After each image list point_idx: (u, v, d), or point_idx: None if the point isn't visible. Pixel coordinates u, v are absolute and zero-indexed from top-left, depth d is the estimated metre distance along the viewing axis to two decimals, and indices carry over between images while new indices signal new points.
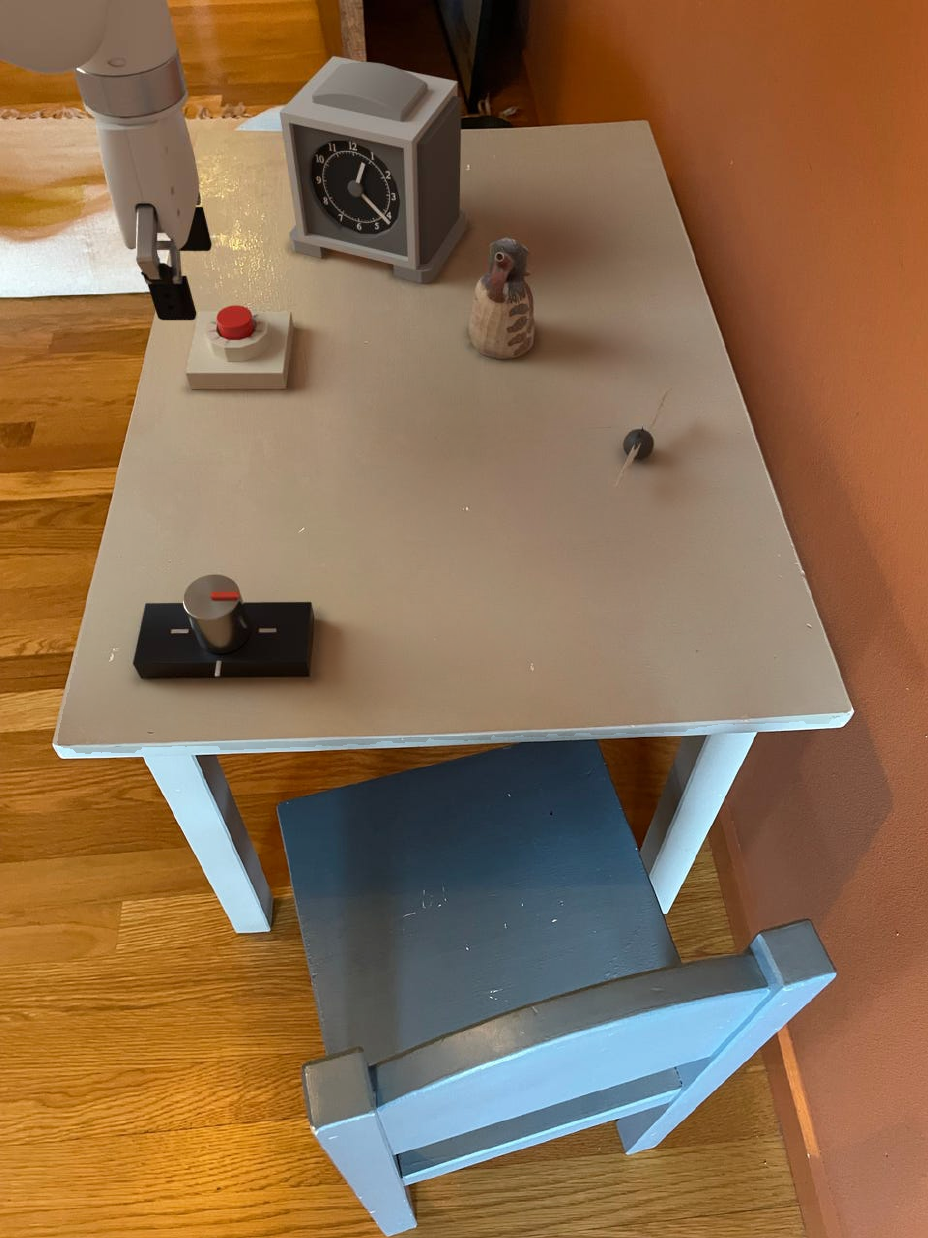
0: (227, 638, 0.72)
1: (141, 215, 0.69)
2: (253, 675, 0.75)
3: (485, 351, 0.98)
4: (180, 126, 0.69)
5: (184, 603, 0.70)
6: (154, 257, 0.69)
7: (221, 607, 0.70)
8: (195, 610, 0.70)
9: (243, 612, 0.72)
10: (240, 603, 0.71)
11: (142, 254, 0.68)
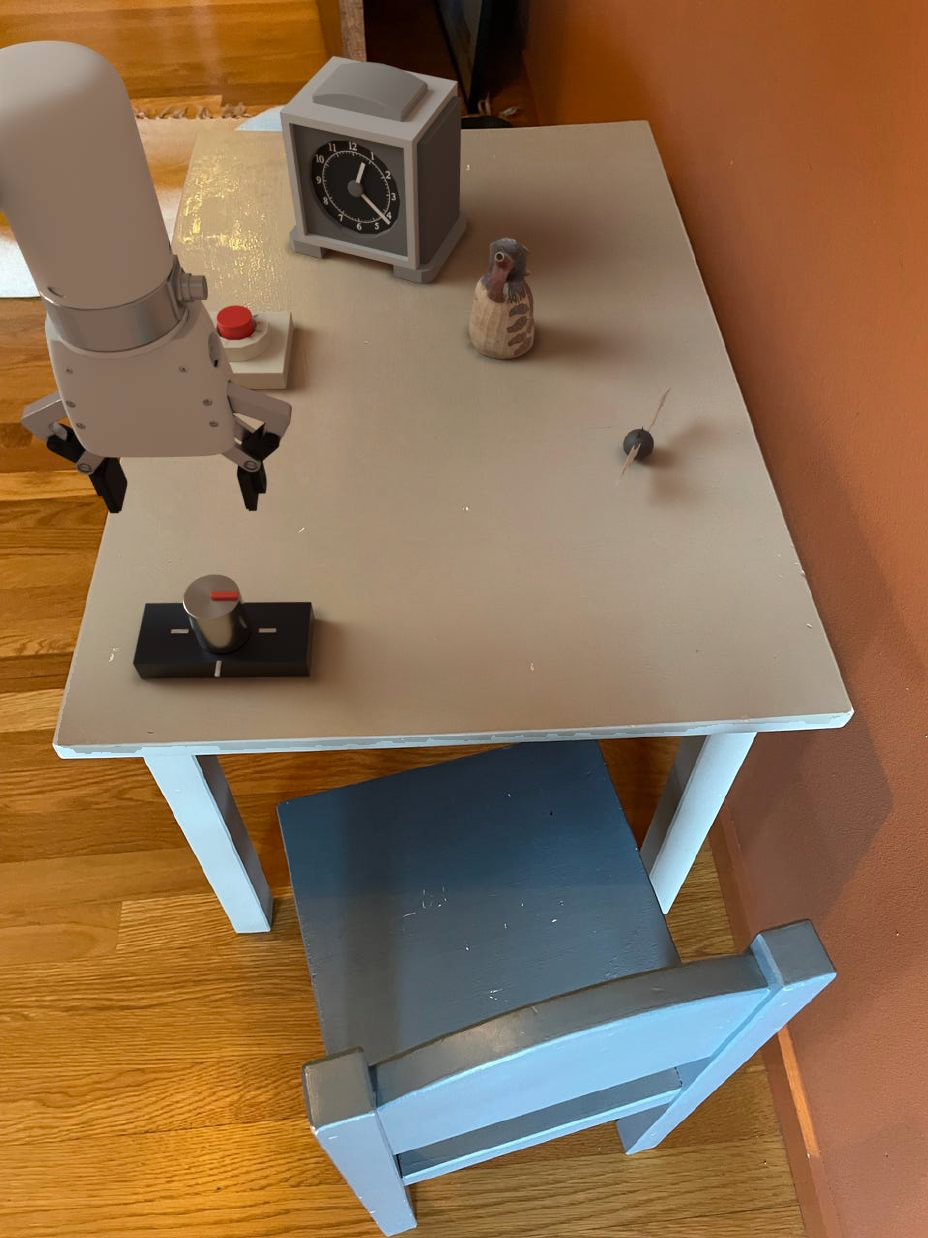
0: (227, 638, 0.72)
1: None
2: (253, 675, 0.75)
3: (485, 351, 0.98)
4: (142, 379, 0.53)
5: (184, 603, 0.70)
6: (32, 424, 0.58)
7: (221, 607, 0.70)
8: (195, 610, 0.70)
9: (243, 612, 0.72)
10: (240, 603, 0.71)
11: (24, 410, 0.58)
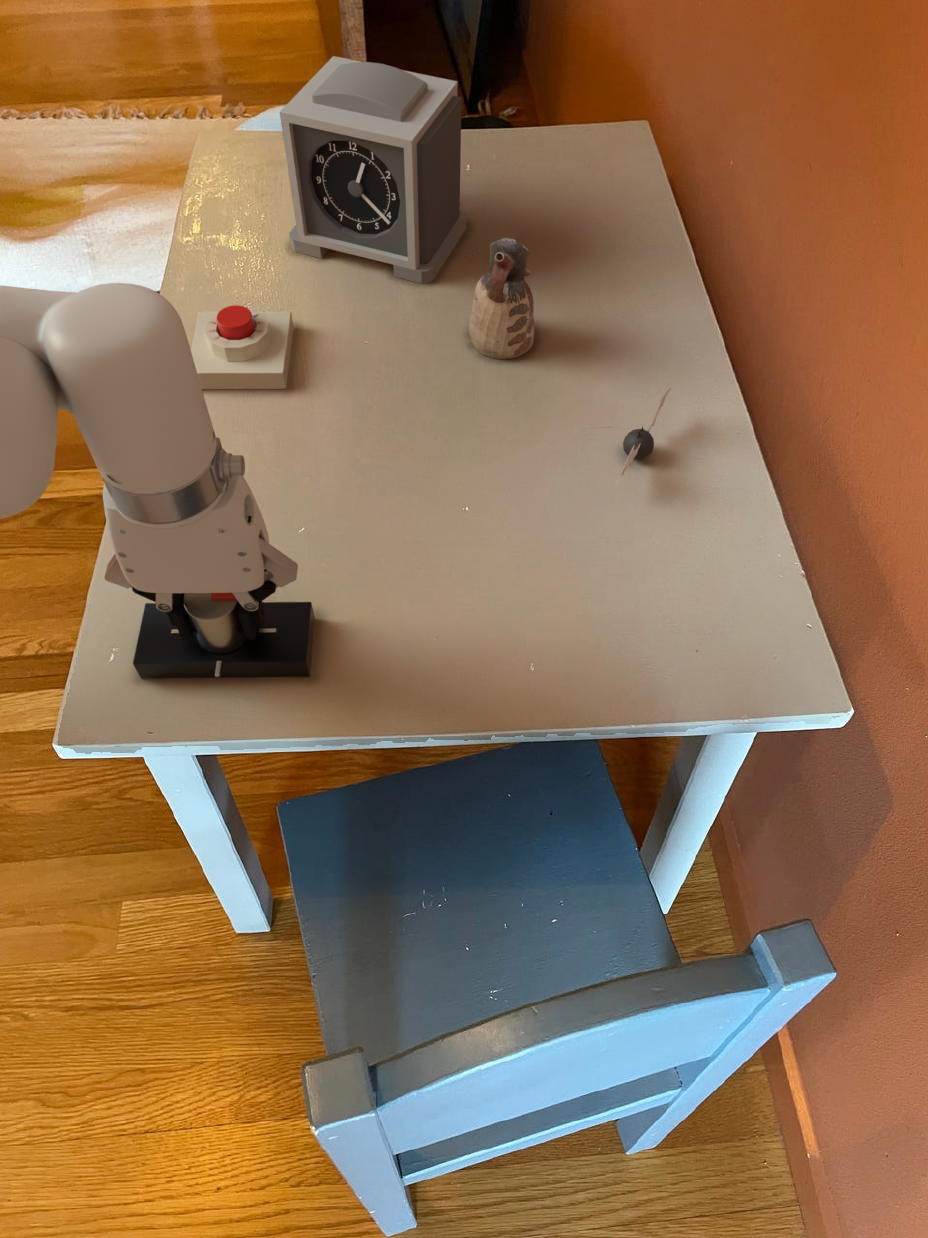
0: (227, 638, 0.72)
1: None
2: (253, 675, 0.75)
3: (485, 351, 0.98)
4: (186, 538, 0.61)
5: (184, 603, 0.70)
6: (114, 578, 0.68)
7: (221, 607, 0.70)
8: (195, 610, 0.70)
9: None
10: None
11: (106, 569, 0.68)
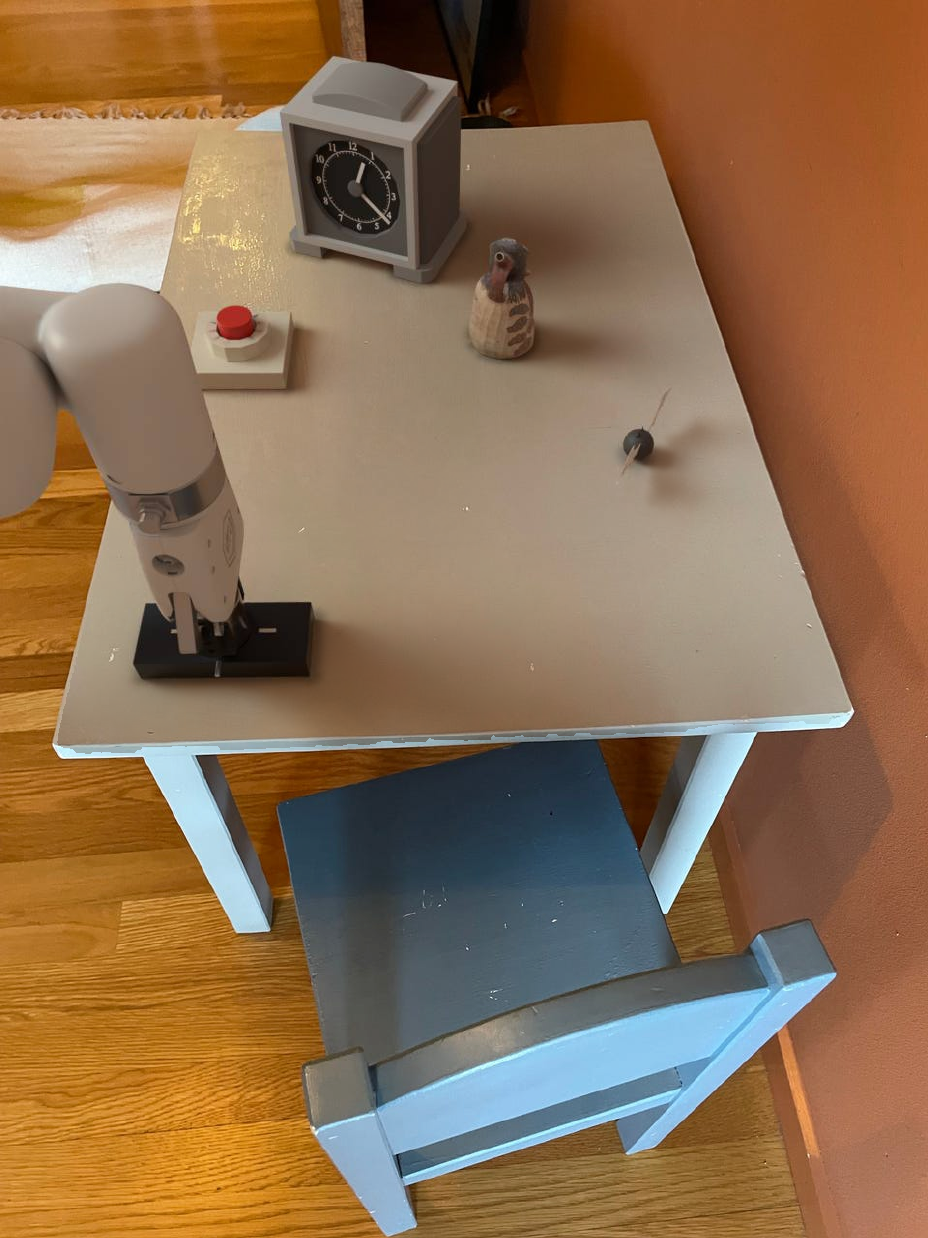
0: None
1: None
2: (253, 675, 0.75)
3: (485, 351, 0.98)
4: None
5: None
6: None
7: None
8: None
9: None
10: None
11: None
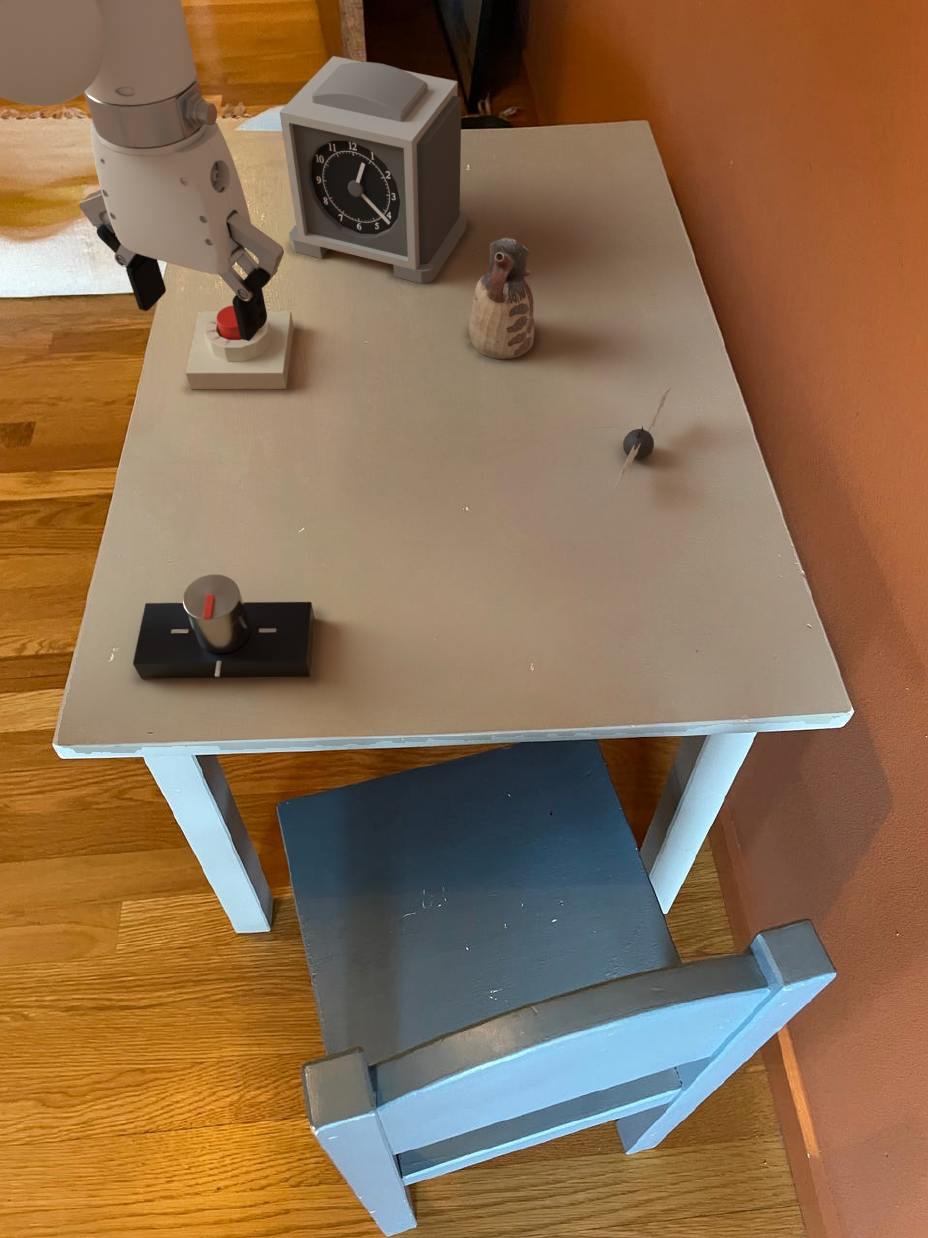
0: None
1: None
2: (253, 675, 0.75)
3: (485, 351, 0.98)
4: (153, 182, 0.63)
5: (206, 576, 0.72)
6: (87, 209, 0.71)
7: (196, 606, 0.70)
8: (195, 586, 0.71)
9: (210, 633, 0.71)
10: (205, 623, 0.70)
11: None
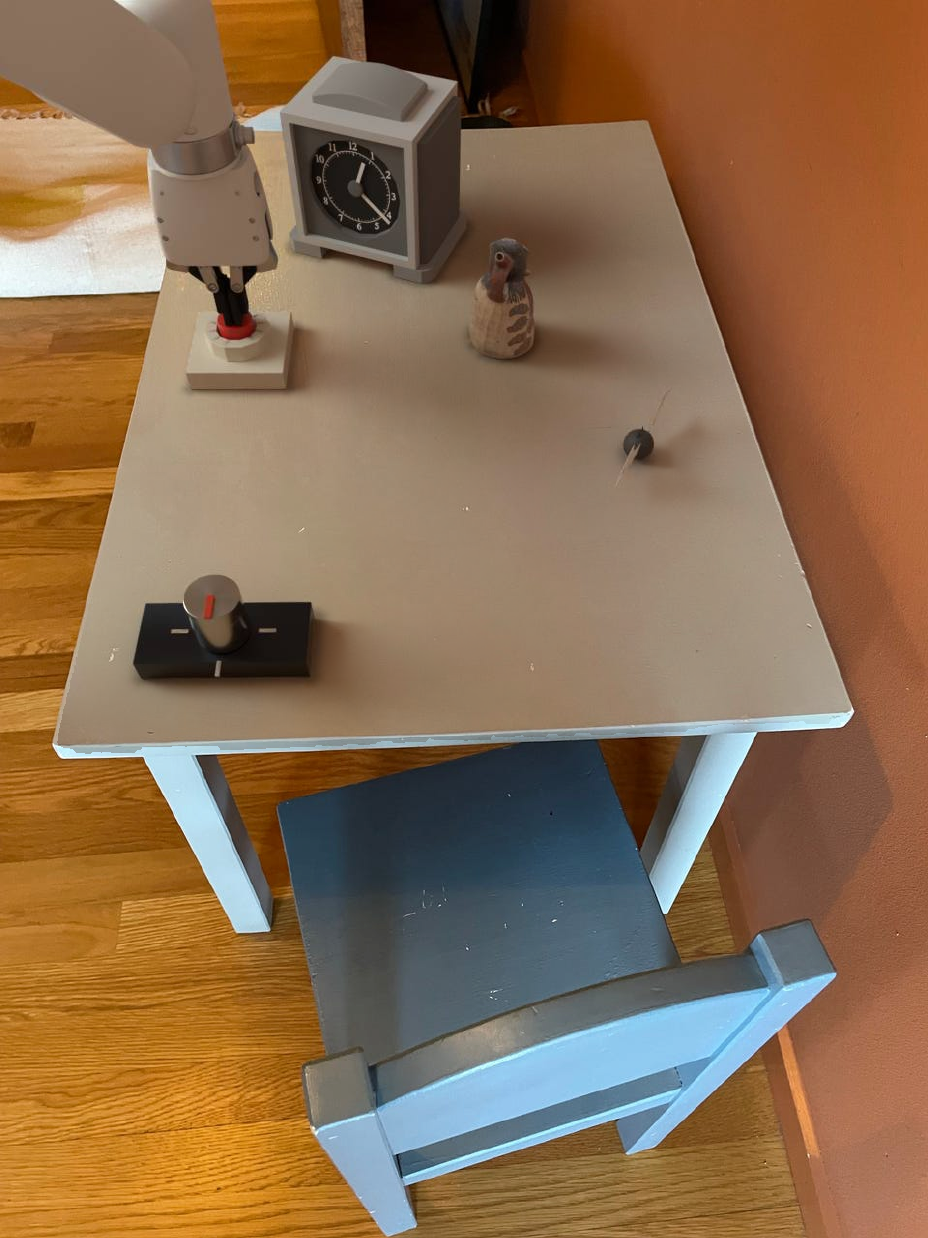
0: None
1: None
2: (253, 675, 0.75)
3: (485, 351, 0.98)
4: (210, 199, 0.80)
5: (206, 576, 0.72)
6: (173, 264, 0.88)
7: (196, 606, 0.70)
8: (195, 586, 0.71)
9: (210, 633, 0.71)
10: (205, 623, 0.70)
11: None
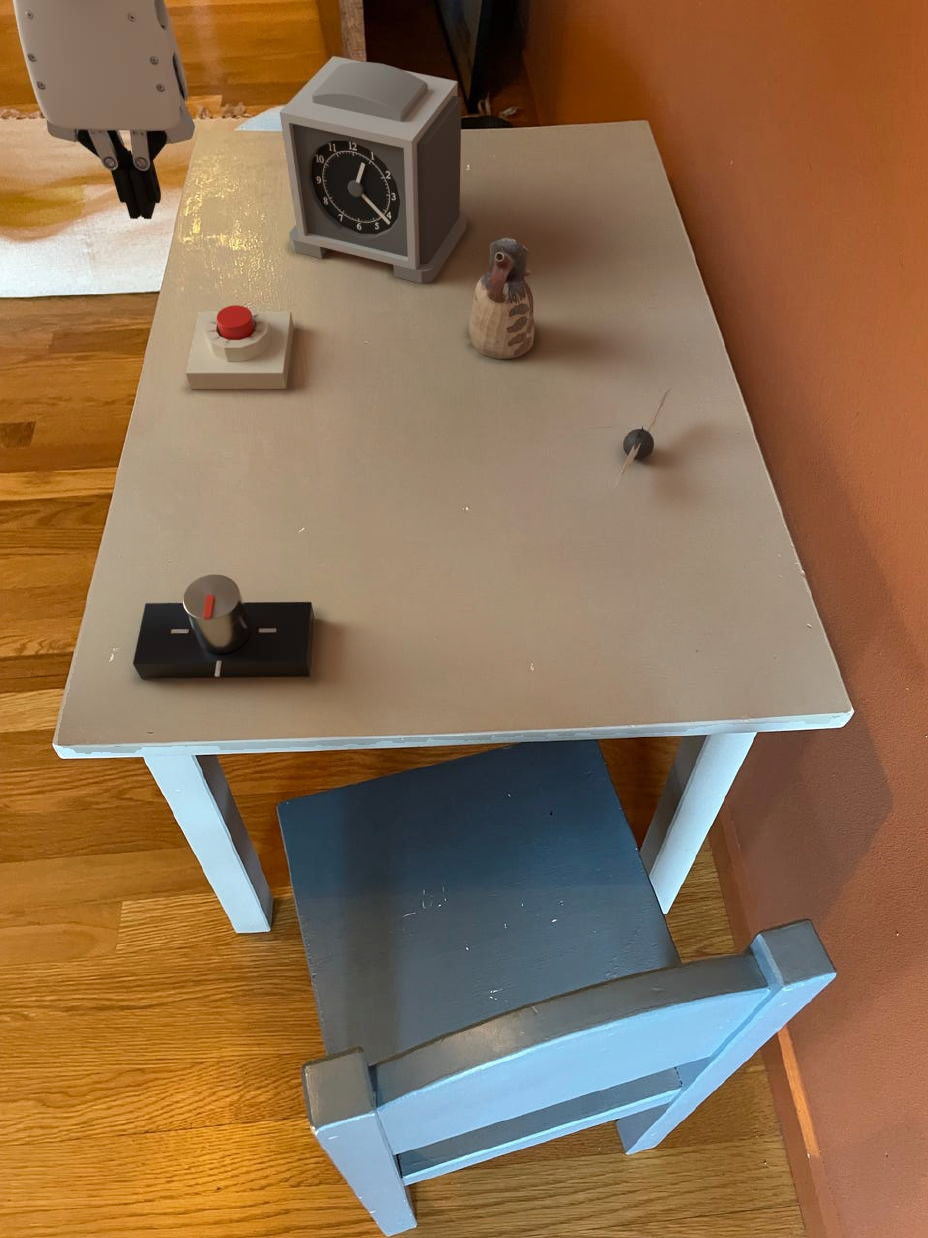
0: None
1: None
2: (253, 675, 0.75)
3: (485, 351, 0.98)
4: (95, 26, 0.60)
5: (206, 576, 0.72)
6: (56, 129, 0.68)
7: (196, 606, 0.70)
8: (195, 586, 0.71)
9: (210, 633, 0.71)
10: (205, 623, 0.70)
11: None
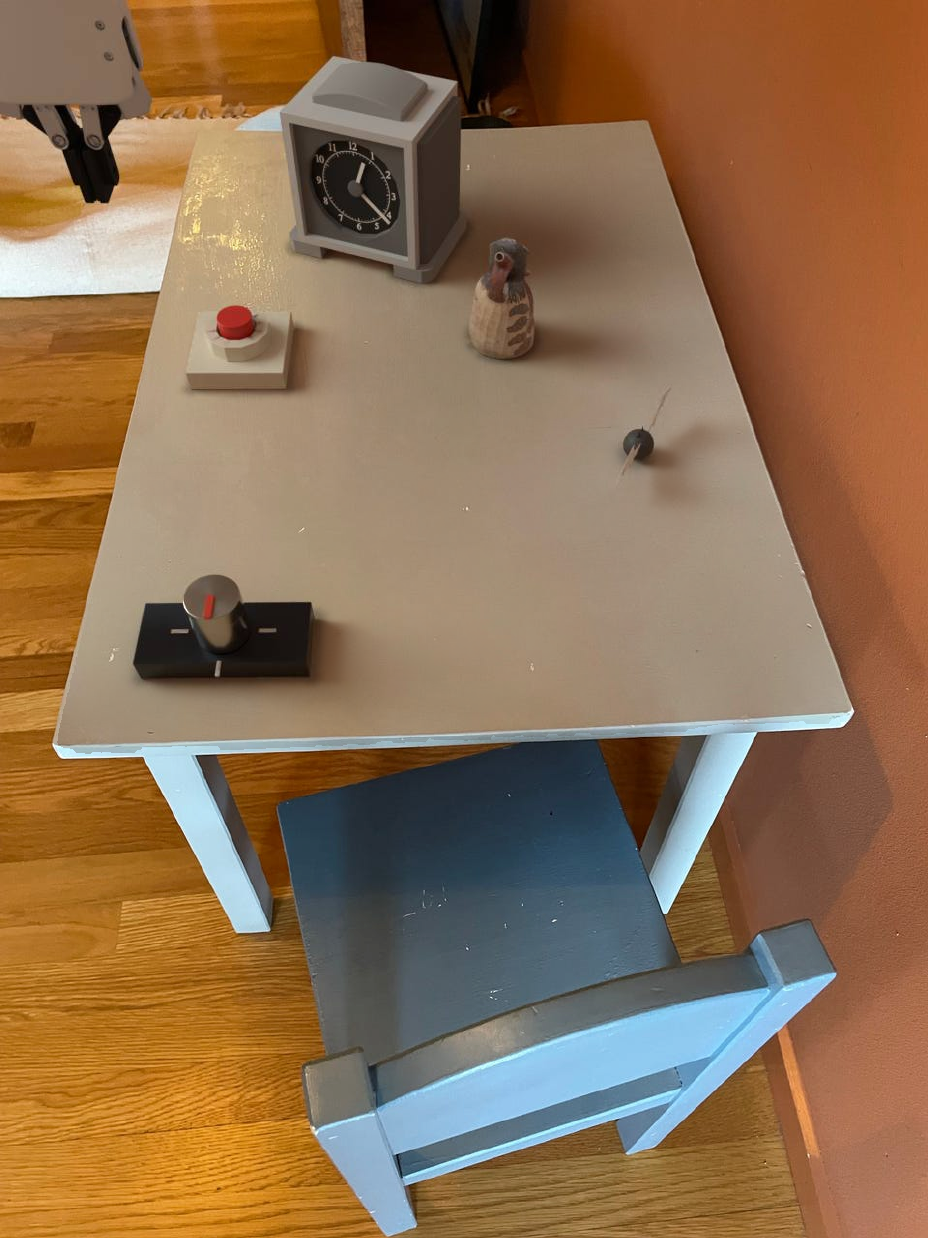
0: None
1: None
2: (253, 675, 0.75)
3: (485, 351, 0.98)
4: None
5: (206, 576, 0.72)
6: None
7: (196, 606, 0.70)
8: (195, 586, 0.71)
9: (210, 633, 0.71)
10: (205, 623, 0.70)
11: None
